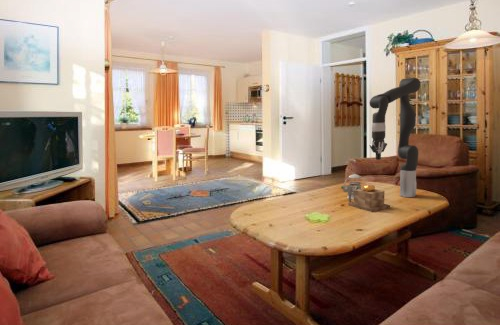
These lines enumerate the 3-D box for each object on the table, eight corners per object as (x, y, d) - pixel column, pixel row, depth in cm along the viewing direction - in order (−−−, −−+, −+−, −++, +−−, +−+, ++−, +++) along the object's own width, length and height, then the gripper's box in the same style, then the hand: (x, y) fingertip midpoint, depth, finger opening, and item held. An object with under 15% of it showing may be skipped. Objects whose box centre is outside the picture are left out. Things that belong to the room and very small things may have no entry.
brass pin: (368, 200, 209) (369, 184, 207) (376, 202, 203) (377, 185, 202) (361, 202, 206) (361, 185, 204) (369, 204, 200) (369, 187, 199)
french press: (360, 199, 221) (360, 160, 218) (342, 197, 227) (342, 160, 224) (364, 196, 230) (364, 158, 226) (346, 194, 236) (346, 158, 232)
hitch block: (366, 201, 216) (366, 186, 215) (390, 207, 200) (390, 191, 199) (348, 205, 209) (348, 189, 208) (371, 211, 193) (371, 195, 192)
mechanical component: (358, 202, 215) (358, 186, 214) (341, 201, 217) (341, 186, 216) (358, 201, 218) (358, 185, 217) (341, 200, 220) (341, 185, 219)
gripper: (381, 129, 211) (380, 157, 214) (365, 130, 205) (365, 159, 208) (391, 130, 205) (391, 159, 207) (375, 131, 199) (375, 161, 201)
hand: (378, 159), depth 207 cm, fingers closed
